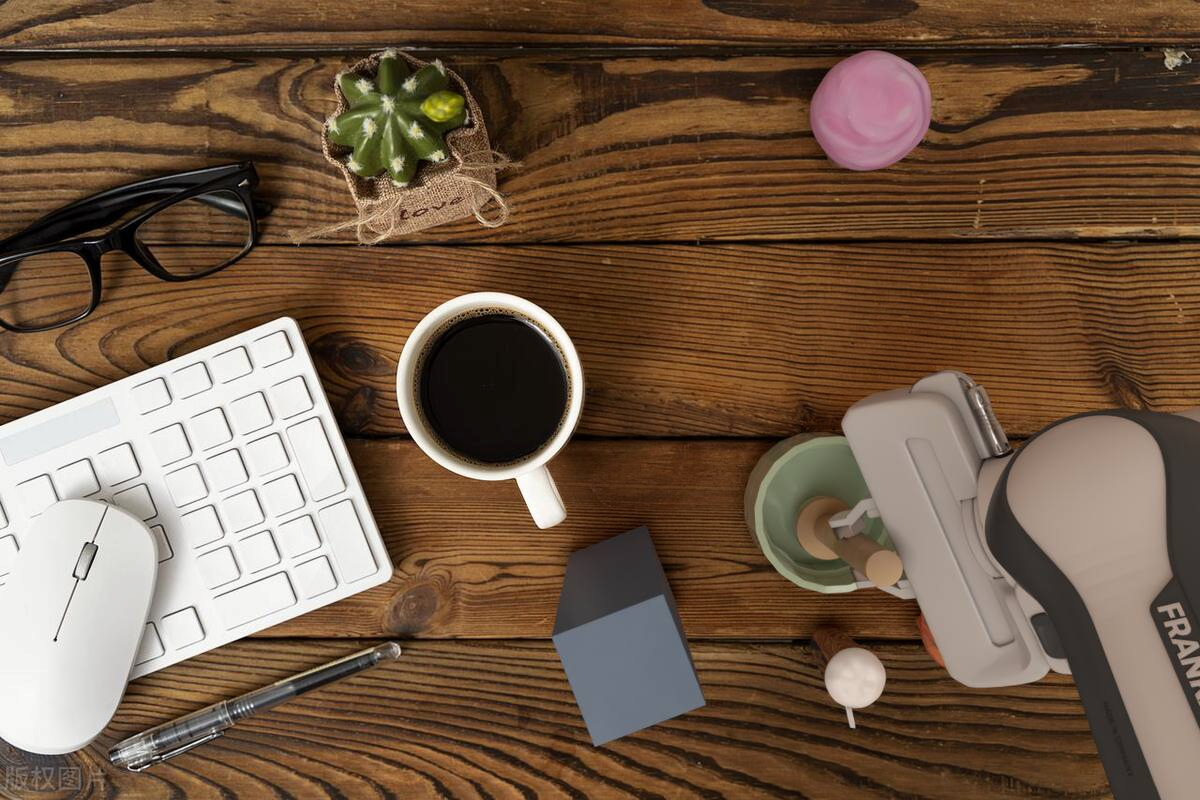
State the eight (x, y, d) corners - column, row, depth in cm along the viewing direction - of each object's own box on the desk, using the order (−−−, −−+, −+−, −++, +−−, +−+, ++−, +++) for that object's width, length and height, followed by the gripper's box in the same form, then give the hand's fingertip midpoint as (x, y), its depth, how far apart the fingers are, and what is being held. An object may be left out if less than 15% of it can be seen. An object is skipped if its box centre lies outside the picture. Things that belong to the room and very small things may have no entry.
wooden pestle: (862, 543, 70) (935, 590, 55) (805, 565, 70) (861, 618, 55) (841, 486, 70) (907, 517, 54) (783, 508, 70) (833, 546, 55)
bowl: (908, 544, 72) (935, 559, 66) (773, 596, 73) (788, 615, 67) (856, 410, 72) (879, 413, 66) (721, 462, 72) (732, 470, 66)
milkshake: (793, 673, 73) (822, 720, 63) (808, 612, 73) (840, 650, 63) (844, 686, 73) (882, 735, 63) (860, 625, 73) (900, 665, 63)
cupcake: (823, 205, 72) (857, 178, 62) (775, 113, 72) (802, 70, 62) (918, 155, 72) (968, 120, 62) (870, 63, 71) (913, 12, 61)
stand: (675, 600, 73) (706, 704, 50) (598, 630, 73) (594, 747, 50) (645, 524, 73) (663, 593, 50) (569, 554, 73) (551, 636, 50)
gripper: (953, 375, 49) (765, 433, 59) (1093, 699, 49) (883, 702, 59) (990, 346, 53) (809, 404, 63) (1118, 644, 54) (918, 655, 64)
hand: (846, 550), depth 61 cm, fingers closed on wooden pestle, 2 cm apart
